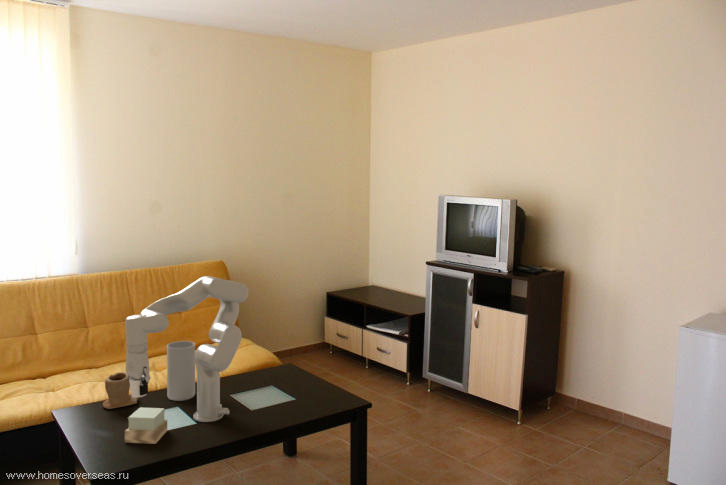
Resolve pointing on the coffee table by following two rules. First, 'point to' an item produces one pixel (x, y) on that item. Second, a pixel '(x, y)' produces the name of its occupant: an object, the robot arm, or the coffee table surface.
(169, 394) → the cylinder vase
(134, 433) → the oak base block
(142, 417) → the sage top block
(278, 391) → the coffee table surface
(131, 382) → the shot glass
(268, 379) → the coffee table surface
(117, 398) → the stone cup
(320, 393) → the coffee table surface
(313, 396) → the coffee table surface
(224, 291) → the robot arm
